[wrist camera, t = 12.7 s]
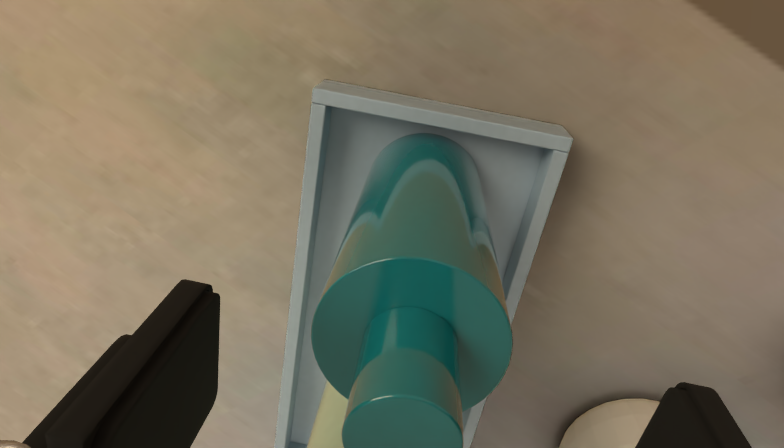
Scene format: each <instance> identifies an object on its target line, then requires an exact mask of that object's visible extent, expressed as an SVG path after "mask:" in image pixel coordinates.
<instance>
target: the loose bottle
mask: <svg viewBox="0 0 784 448" xmlns="http://www.w3.org/2000/svg"><path fill="white" fill-rule="evenodd" d="M311 342H312V348H313V352H314V356H315V359H316V361H317V364H318V366H319V368H320V370H321V371H322V373H323V375H324V376H325V378H326V379H327V380H328V382H329V383H330V384H331V385H332V386H333V387H334V388H335V389H336V390H337V391H338V392H339V393H340V394H341V395H342V396H344V397H345V398H346V399H347V400H348V404H347V408H346V413H345V417H344V422H343V426H342V433H341V436H342V443H343V447H344V448H463V445H464V437H463V417H462V412H464V411H466V410H468V409H470V408H472V407H473V406H475V405H476V404H478V403H479V402H481V401H482V400H484V399H485V398H486V397H487V396H488V395H489V394H490V393H491V392H492V391H493V390H494V389H495V388H496V387H497V386H498V384H499V383H500V381H501V380H502V378H503V376H504V375H505V373H506V370H507V368H508V366H509V363H510V359H511V355H512V347H513V339H512V329H511V325H510V320H509V315H508V310H507V305H506V300H505V295H504V290H503V285H502V281H501V276H500V271H499V266H498V261H497V256H496V251H495V246H494V242H493V237H492V232H491V227H490V222H489V217H488V212H487V207H486V202H485V198H484V193H483V188H482V183H481V178H480V174H479V170H478V168H477V165H476V163H475V162H474V160H473V158H472V157H471V156H470V154H469V153H468V152H467V151H466V150H465V149H464V148H463V147H462V146H461V145H459V144H458V143H456V142H455V141H453V140H451V139H449V138H447V137H444V136H441V135H437V134H432V133H416V134H410V135H406V136H403V137H401V138H398V139H396V140H395V141H393V142H391V143H390V144H388V145H387V146H386V147H385V148H384V149H383V150H382V151H381V152H380V153H379V154H378V155H377V157H376V158H375V160H374V161H373V163H372V165H371V168H370V170H369V173H368V176H367V178H366V181H365V183H364V186H363V189H362V191H361V194H360V196H359V199H358V201H357V204H356V207H355V209H354V212H353V214H352V217H351V220H350V222H349V225H348V227H347V230H346V233H345V235H344V238H343V240H342V243H341V245H340V248H339V251H338V253H337V256H336V258H335V261H334V264H333V266H332V269H331V271H330V274H329V277H328V279H327V282H326V284H325V287H324V289H323V292H322V295H321V297H320V300H319V302H318V305H317V308H316V310H315V313H314V316H313V320H312V325H311Z"/></svg>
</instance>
